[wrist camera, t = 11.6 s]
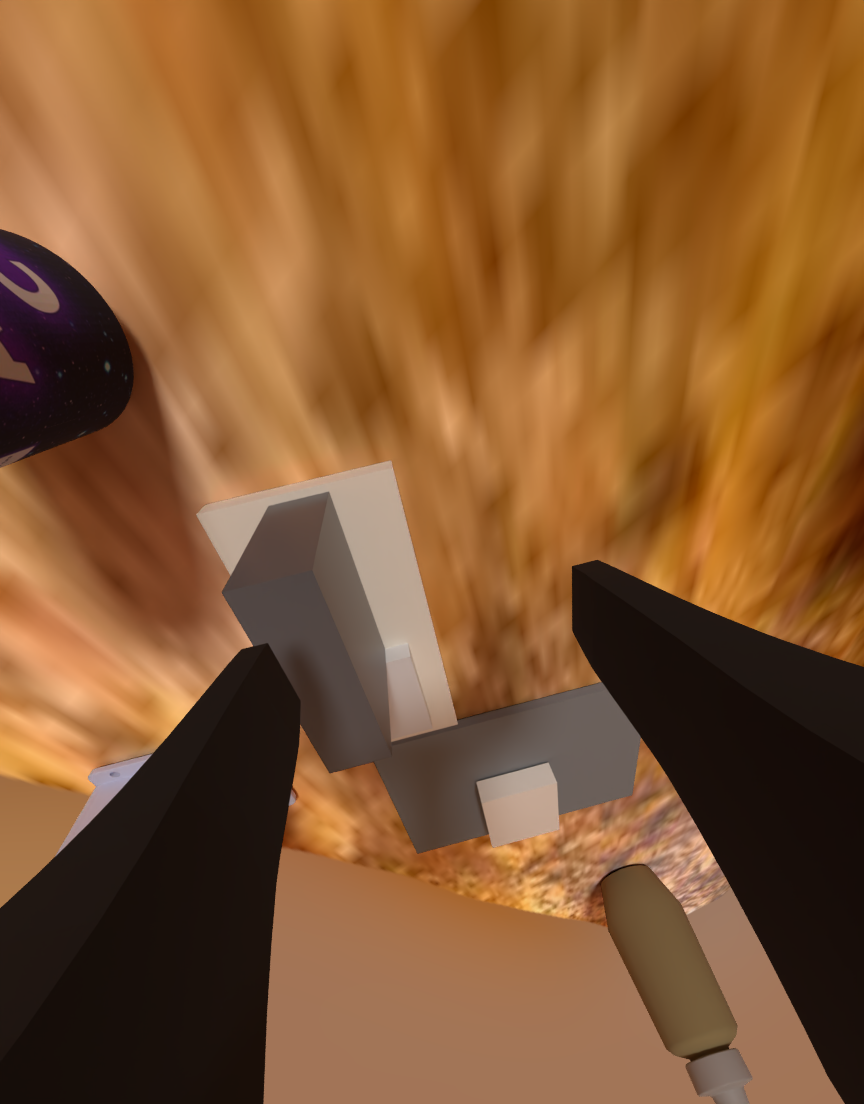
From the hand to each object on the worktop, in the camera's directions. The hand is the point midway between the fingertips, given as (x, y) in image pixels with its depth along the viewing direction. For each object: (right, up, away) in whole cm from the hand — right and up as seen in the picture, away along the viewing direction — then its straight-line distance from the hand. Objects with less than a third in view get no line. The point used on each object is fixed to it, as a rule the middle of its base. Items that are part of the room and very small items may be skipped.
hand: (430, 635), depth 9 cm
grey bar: (-4, -2, +10) cm, 11 cm away
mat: (+7, -15, +21) cm, 26 cm away
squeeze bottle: (+22, -35, +35) cm, 54 cm away
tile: (+6, -15, +19) cm, 24 cm away
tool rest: (-4, -2, +12) cm, 12 cm away
